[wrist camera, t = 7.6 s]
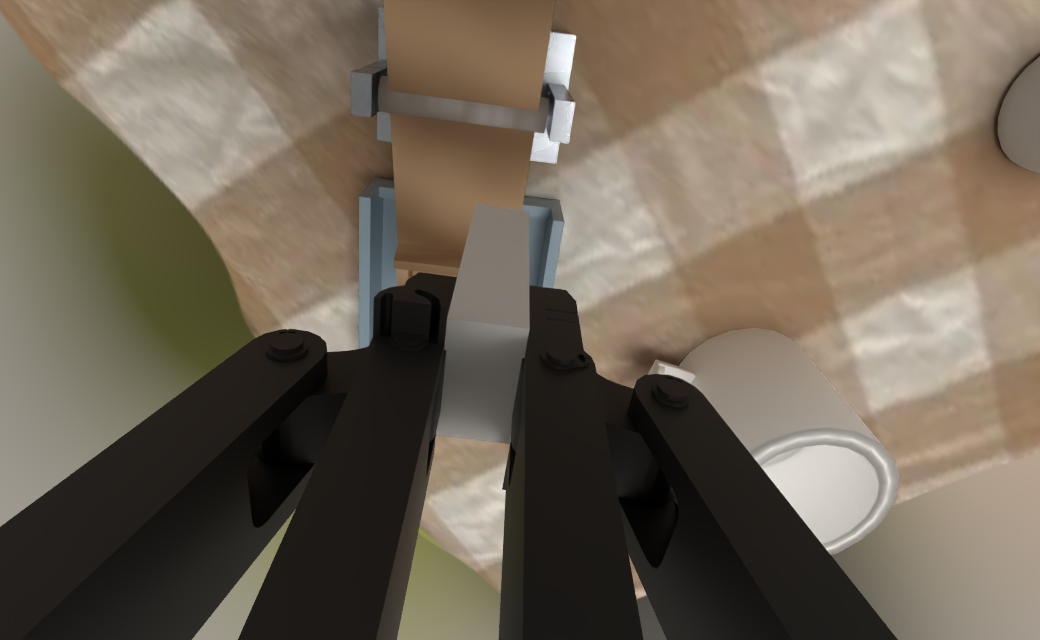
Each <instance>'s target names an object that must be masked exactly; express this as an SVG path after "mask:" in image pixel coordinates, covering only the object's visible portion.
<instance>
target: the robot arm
mask: <svg viewBox="0 0 1040 640" xmlns="http://www.w3.org/2000/svg"><path fill="white" fill-rule="evenodd" d="M577 314H578V311H577V305H576V301H575V300H574V299H573V297H572V296H571V295H570V294H569V293H568V292H567V291H566V290H561V289H553V288H546V287H539V286H531V285H529V211H524V210H517V209H510V208H503V207H496V206H489V205H482V204H475V208H474V212H473V216H472V220H471V224H470V228H469V232H468V236H467V240H466V244H465V248H464V252H463V256H462V260H461V264H460V268H459V272H458V276H457V277H453V276H445V275H438V274H430V273H423V272H419V273H417V274H416V275H414V276H412V277H411V278H409V279H408V280H407V281H406V283H405V285H402V286H395V287H389V288H387V289H384V290H382V291H380V292H379V293H378V294H377V295H376V296H375V297H374V308H373V337H372V340H371V342H370V344H369V346H367V347H365V348H361V349H357V350H350V351H340V352H327V347H326V342H325V341H324V340H323V339H322V338H321V337H320V336H318V335H316V334H313V333H311V332H308V331H302V330H296V329H289V330H287V329H283V330H277V331H273V332H269V333H265V334H263V335H261V336H259V337H257V338H255V339H253V340H252V341H251V342H249V343H248V344H247V345H245V346H244V347H243V348H241V349H240V350H239V351H237V352H236V353H235V354H233V355H232V356H231V357H229V358H228V359H226V360H225V361H224V362H222V363H221V364H220V365H218V366H217V367H216V368H214V369H213V370H211V371H210V372H209V373H207V374H206V375H205V376H203V377H202V378H201V379H199V380H198V381H197V382H195V383H194V384H193V385H191V386H190V387H188V388H187V389H186V390H185V391H183V392H182V393H180V394H179V395H178V396H176V397H175V398H174V399H173V400H171V401H170V402H168V403H167V404H166V405H164V406H163V407H162V408H160V409H159V410H157V411H156V412H155V413H153V414H152V415H151V416H149V417H148V418H147V419H145V420H144V421H143V422H141V423H140V424H139V425H137V426H136V427H135V428H133V429H132V430H131V431H129V432H128V433H126V434H125V435H124V436H122V437H121V438H120V439H118V440H117V441H116V442H114V443H113V444H112V445H110V446H109V447H108V448H106V449H105V450H104V451H102V452H101V453H99V454H98V455H97V456H96V457H94V458H93V459H92V460H90V461H89V462H87V463H86V464H85V465H83V466H82V467H81V468H79V469H78V470H77V471H75V472H74V473H72V474H71V475H70V476H68V477H67V478H66V479H64V480H63V481H62V482H60V483H59V484H58V485H56V486H55V487H54V488H52V489H51V490H50V491H48V492H47V493H45V494H44V495H43V496H41V497H40V498H39V499H37V500H36V501H35V502H33V503H32V504H31V505H29V506H28V507H27V508H25V509H24V510H22V511H21V512H20V513H18V514H17V515H16V516H14V517H13V518H12V519H10V520H9V521H8V522H6V523H5V524H4V525H2V526H1V527H0V640H192V638H193V637H194V636H195V635H196V633H197V632H198V631H199V630H200V628H201V627H202V626H203V625H204V623H205V622H206V621H207V620H208V618H209V617H210V616H211V615H212V613H213V612H214V611H215V610H216V608H217V607H218V606H219V605H220V603H221V602H222V601H223V600H224V598H225V597H226V596H227V595H228V593H229V592H230V591H231V589H232V588H233V587H234V585H235V584H236V583H237V582H238V581H239V579H240V578H241V577H242V576H243V574H244V573H245V572H246V571H247V569H248V568H249V567H250V565H251V564H252V563H253V562H254V561H255V559H256V558H257V557H258V556H259V554H260V553H261V552H262V551H263V549H264V548H265V547H266V546H267V544H268V543H269V542H270V541H271V539H272V538H273V537H274V536H275V534H276V533H277V532H278V531H279V529H280V528H281V527H282V525H283V524H284V523H285V522H286V520H287V519H288V518H289V517H290V515H291V514H292V513H293V511H294V510H295V509H296V510H295V513H294V515H293V517H292V520H291V522H290V524H289V526H288V528H287V531H286V533H285V535H284V537H283V540H282V542H281V544H280V546H279V548H278V551H277V553H276V555H275V557H274V560H273V562H272V564H271V567H270V569H269V571H268V573H267V575H266V578H265V580H264V582H263V584H262V587H261V589H260V591H259V594H258V596H257V598H256V600H255V602H254V605H253V607H252V609H251V611H250V614H249V616H248V618H247V620H246V623H245V625H244V627H243V629H242V632H241V634H240V636H239V639H238V640H397V635H398V630H399V625H400V620H401V615H402V610H403V605H404V600H405V595H406V590H407V585H408V580H409V575H410V570H411V565H412V560H413V555H414V550H415V545H416V540H417V535H418V530H419V525H420V520H421V515H422V510H423V505H424V500H425V495H426V490H427V485H428V480H429V475H430V470H431V465H432V460H433V455H434V448H435V437H436V435H440V436H449V437H457V438H466V439H474V440H482V441H491V442H499V443H508V444H509V443H510V438H511V443H510V449H509V454H508V460H507V466H506V471H505V477H504V483H503V488H502V490H506V499H505V520H504V541H503V561H502V582H501V603H500V624H499V640H643V635H642V630H641V623H640V618H639V612H638V606H637V601H636V595H635V589H634V583H633V578H632V572H631V566H630V561H629V556H630V558H631V561H632V563H633V565H634V567H635V569H636V572H637V574H638V576H639V578H640V581H641V583H642V585H643V587H644V589H645V592H646V594H647V596H648V598H649V601H650V603H651V605H652V607H653V609H654V612H655V613H656V616H657V618H658V621H659V623H660V625H661V627H662V630H663V632H664V634H665V636H666V638H667V640H897V638H896V637H895V636H894V634H893V633H892V632H891V631H890V630H889V628H888V627H887V626H886V624H885V623H884V622H883V621H882V619H881V618H880V617H879V616H878V614H877V613H876V612H875V611H874V609H873V608H872V607H871V605H870V604H869V603H868V602H867V600H866V599H865V598H864V597H863V595H862V594H861V593H860V591H859V590H858V589H857V588H856V586H855V585H854V584H853V583H852V582H851V580H850V579H849V578H848V576H847V575H846V574H845V573H844V571H843V570H842V569H841V568H840V566H839V565H838V564H837V562H836V561H835V560H834V559H833V557H832V556H831V555H830V554H829V552H828V551H827V550H826V549H825V547H824V546H823V545H822V543H821V542H820V541H819V540H818V538H817V537H816V536H815V535H814V533H813V532H812V531H811V530H810V528H809V527H808V526H807V525H806V523H805V522H804V521H803V519H802V518H801V517H800V516H799V514H798V513H797V512H796V511H795V509H794V508H793V507H792V506H791V504H790V503H789V502H788V501H787V499H786V498H785V497H784V495H783V494H782V493H781V492H780V490H779V489H778V488H777V487H776V485H775V484H774V483H773V482H772V480H771V479H770V478H769V477H768V475H767V474H766V473H765V471H764V470H763V469H762V468H761V466H760V465H759V464H758V463H757V461H756V460H755V459H754V458H753V456H752V455H751V454H750V452H749V451H748V450H747V449H746V447H745V446H744V445H743V444H742V442H741V441H740V440H739V439H738V437H737V436H736V435H735V434H734V432H733V431H732V430H731V428H730V427H729V426H728V425H727V423H726V422H725V421H724V420H723V418H722V417H721V416H720V415H719V413H718V412H717V411H716V410H715V408H714V407H713V406H712V404H711V403H710V402H709V401H708V399H707V398H706V397H705V396H704V394H703V393H702V392H700V391H699V390H698V389H697V388H696V387H695V386H694V385H692V384H690V383H688V382H686V381H684V380H683V379H681V378H678V377H674V376H671V375H664V374H650V375H644V376H643V377H641V378H640V379H638V380H637V382H636V384H635V387H634V389H632V388H629V387H626V386H623V385H620V384H617V383H615V382H612V381H610V380H607V379H605V378H604V377H602V376H600V375H598V374H597V373H596V367H595V364H594V362H593V360H592V358H591V356H589V355H588V354H587V353H586V352H585V351H584V350H583V343H582V337H581V330H580V324H579V318H578V315H577ZM628 554H629V555H628Z"/></svg>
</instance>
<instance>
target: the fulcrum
mask: <svg viewBox="0 0 1040 640" xmlns="http://www.w3.org/2000/svg"><path fill="white" fill-rule="evenodd" d="M575 41H576V35H574V34H571V33H569V32H562V31H555V30H551V34H550V40H549V46H548V52H547V59H546V65H545V71H544V77H543V84H542V90H541V96H540V97H544V98H549V106H548V115H547V122H546V128H545V132H544V133H536V132H535V133H534V139H533V146H532V152H531V158H530V160H532V161H539V162H547V163H555V164H556V162H557V156H558V149H559V143H568V144H569V138H570V132H571V126H572V120H573V114H574V108H575V101H574V100H573V98H572V96H571V95H570V93H569V92H568V86H569V79H570V73H571V67H572V60H573V54H574V47H575ZM382 75H383V76H388V73H387V56H386V39H385V23H384V7H379V23H378V62H375V63H372V64H370V65H367V66H365V67H362V68H359V69H357V70H354V71H351V115H356V116H364V117H373V116H374V115H375V114H376V113H377V140H378V141H385V142H392V139H391V122H390V113H386V112H380V110H379V105H378V89H379V82H380V78H381V76H382Z"/></svg>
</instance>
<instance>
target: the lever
mask: <svg viewBox="0 0 1040 640" xmlns="http://www.w3.org/2000/svg"><path fill="white" fill-rule="evenodd" d="M555 3H556V0H383V6H384V23H385V39H386V56H387V73H388V76H383V75H382V76H381V78H380V82H379V89H378V105H379V110H380V112H386V113H390V122H391V139H392V155H393V172H394V188H395V205H396V221H397V238H398V245H397V249H396V253H395V257H394V269H396V274H397V286H402V285H405V283H406V281H407V280H408V279H409V278H411V277H412V276H414V275H416V274H417V273H419V272H423V273H430V274H438V275H445V276H453V277H457V276H458V272H459V268H460V264H461V260H462V256H463V252H464V248H465V244H466V240H467V236H468V232H469V228H470V224H471V220H472V216H473V212H474V208H475V204H482V205H489V206H496V207H503V208H510V209H517V210H522V208H523V201H524V195H525V189H526V183H527V177H528V170H529V164H530V158H531V152H532V146H533V139H534V133H535V132H536V133H544V132H545V128H546V122H547V115H548V106H549V98H544V97H540V96H541V90H542V84H543V77H544V71H545V65H546V59H547V52H548V46H549V40H550V34H551V28H552V21H553V15H554V9H555Z"/></svg>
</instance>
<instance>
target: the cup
mask: <svg viewBox="0 0 1040 640" xmlns="http://www.w3.org/2000/svg"><path fill="white" fill-rule="evenodd" d="M997 132H998V137H999V141H1000V144H1001V148H1002V150H1003V151H1004V153H1005V154H1006V155H1007V157H1008V158H1009V159H1010V160H1011V161H1012V162H1014V163H1016V164H1017V165H1019V166H1020V167H1022V168H1025V169H1027V170H1029V171H1032V172H1036V173H1039V174H1040V57H1038V58H1037V59H1036V60H1035V61H1034V62H1032V63H1031V64H1030V65H1029V66H1028V67H1027V68H1025V69H1024V71H1023V72H1022V73H1021V74H1020V75H1019V77H1018V78H1017V79H1016V80H1015V81H1014V83H1013V84H1012V85H1011V87H1010V89H1009V91H1008V93H1007V94H1006V96H1005V98H1004V100H1003V102H1002V106H1001V109H1000V112H999V115H998V130H997Z"/></svg>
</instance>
